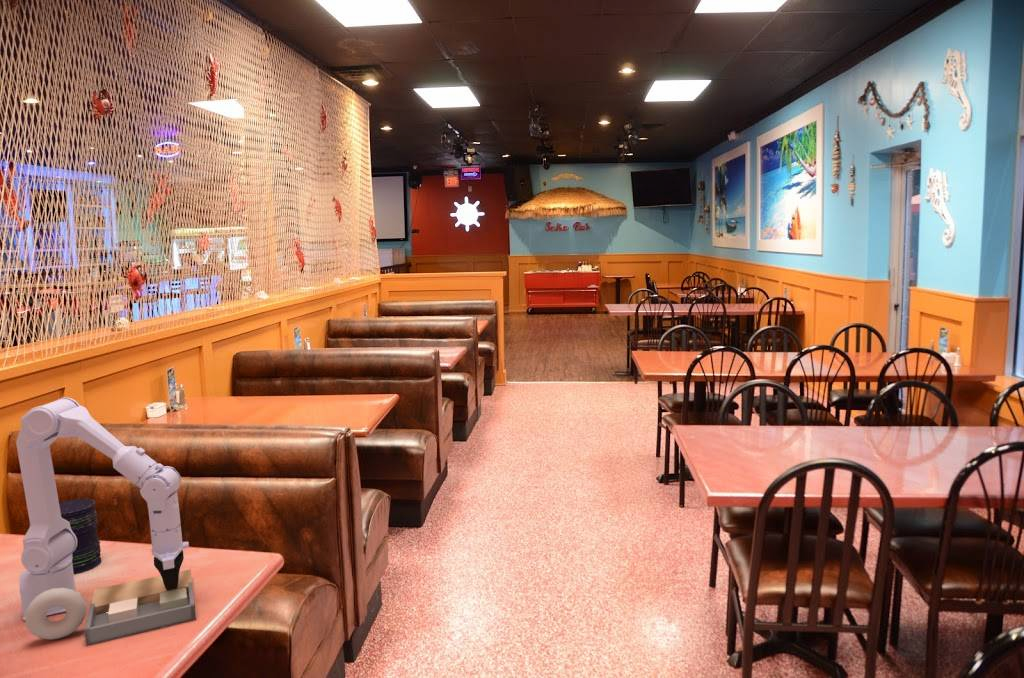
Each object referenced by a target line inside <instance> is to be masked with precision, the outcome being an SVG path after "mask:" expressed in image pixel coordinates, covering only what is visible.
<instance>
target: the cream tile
mask: <svg viewBox="0 0 1024 678" xmlns="http://www.w3.org/2000/svg"><path fill="white" fill-rule="evenodd" d="M134 617H138V598H134V599H129V600H124V601H120V602H115V603H110V606H109V612H108V618H109V623H112V622H117V621H121V620H125V619H130V618H134Z"/></svg>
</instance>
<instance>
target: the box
mask: <svg viewBox="0 0 1024 678" xmlns="http://www.w3.org/2000/svg"><path fill="white" fill-rule="evenodd" d="M193 585H194V584H193V581H192V582H189V583H188V586H189V594H188V595H187V605H186V606H182V607H178V608H173V609H169V610H165V611H161V610H160V601H157V602H152V603H148V604H143V605H139V606H138V617H134V618H130V619H125V620H121V621H117V622H112V623H109V618H108V613H103V614H99V615H96V612H95V603H93V604H92V603H89V607H88V612H87V618H86V623H85V628H84V637H85V644H86V646H91V645H96V644H99V643H103V642H108V641H112V640H115V639H116V640H117V639H120V638H124V637H125V638H126V637H128V636H129V637H130V636H134V635H137V634H140V633H141V634H142V633H145V632H150V631H153V630H157V629H162V628H166V627H172V626H175V625H179V624H183V623H187V622H192V621H195V620H197V615H196V606H195V603H196V602H195V597H194V595H195V594H194V588H193V587H194V586H193Z"/></svg>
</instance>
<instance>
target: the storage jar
mask: <svg viewBox="0 0 1024 678" xmlns="http://www.w3.org/2000/svg"><path fill="white" fill-rule="evenodd" d="M95 505H96V503H95V500H94V499H91V498H78V499H77V498H76V499H70V500H66V501H62V502H59V506H60V512H61V517H62V518H63V519H65V520H67V521H69V522H70V527H71V530H72V531H73V533H74V534H75V536H76V538H77V547H76V549H75V550H74V552H72V556H73V558H72V565H73V573H74V575H78V574H82V573H86V572H88V571H91V570H93V569H95V568H96V567H98V566H100V564H101V563H102V558H101V541H100V538H98V530H97V529H98V528H97V525H98V518H97V517H98V515H97V511H96V507H95Z"/></svg>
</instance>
